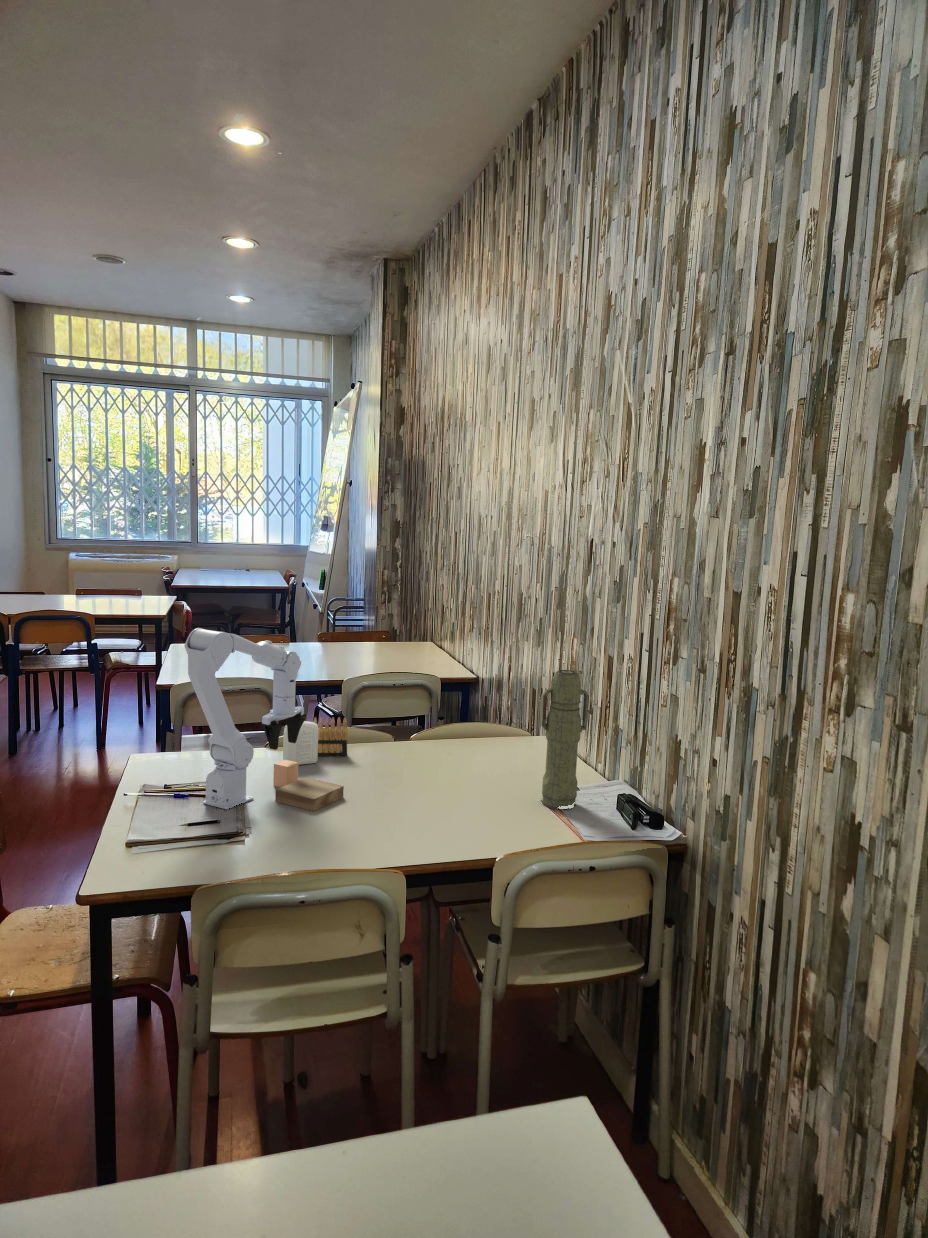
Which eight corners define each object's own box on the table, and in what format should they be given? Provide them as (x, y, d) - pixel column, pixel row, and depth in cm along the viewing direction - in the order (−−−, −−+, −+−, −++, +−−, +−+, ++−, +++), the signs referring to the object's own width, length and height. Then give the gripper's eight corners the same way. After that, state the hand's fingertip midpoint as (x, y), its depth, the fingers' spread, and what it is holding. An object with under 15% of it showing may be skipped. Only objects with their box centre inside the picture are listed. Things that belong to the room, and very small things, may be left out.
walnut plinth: (313, 811, 191) (313, 799, 191) (275, 801, 197) (275, 789, 197) (343, 797, 202) (343, 786, 202) (306, 788, 207) (306, 777, 207)
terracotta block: (286, 789, 206) (287, 766, 206) (273, 785, 208) (273, 763, 208) (297, 784, 210) (298, 762, 210) (284, 781, 212) (285, 759, 212)
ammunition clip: (311, 757, 235) (312, 717, 234) (311, 755, 237) (312, 716, 236) (347, 756, 237) (348, 717, 236) (346, 754, 239) (348, 716, 238)
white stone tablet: (313, 759, 233) (315, 718, 232) (319, 763, 230) (320, 721, 228) (280, 763, 227) (281, 721, 226) (285, 767, 224) (286, 725, 222)
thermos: (531, 799, 208) (539, 668, 204) (573, 797, 210) (582, 668, 206) (542, 811, 199) (550, 674, 195) (585, 809, 202) (595, 675, 198)
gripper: (289, 688, 216) (288, 737, 217) (253, 697, 203) (252, 749, 204) (310, 692, 212) (309, 741, 214) (274, 701, 200) (273, 754, 201)
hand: (282, 745), depth 209 cm, fingers open, 7 cm apart
